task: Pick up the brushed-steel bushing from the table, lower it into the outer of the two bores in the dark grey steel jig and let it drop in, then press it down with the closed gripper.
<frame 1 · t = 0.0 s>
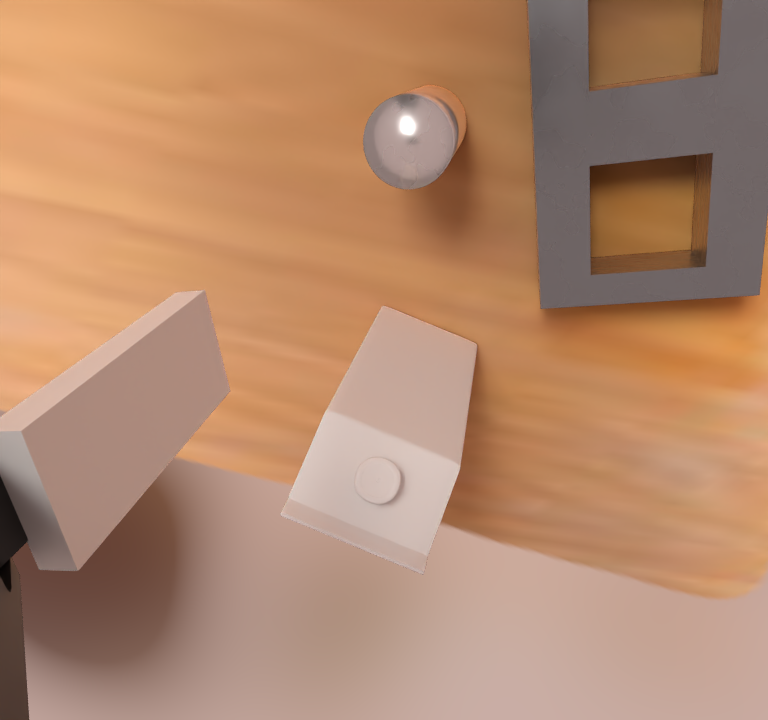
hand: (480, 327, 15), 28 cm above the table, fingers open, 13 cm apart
milk carton: (412, 364, 47), on the table
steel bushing: (430, 124, 40), on the table
jig: (640, 116, 37), on the table
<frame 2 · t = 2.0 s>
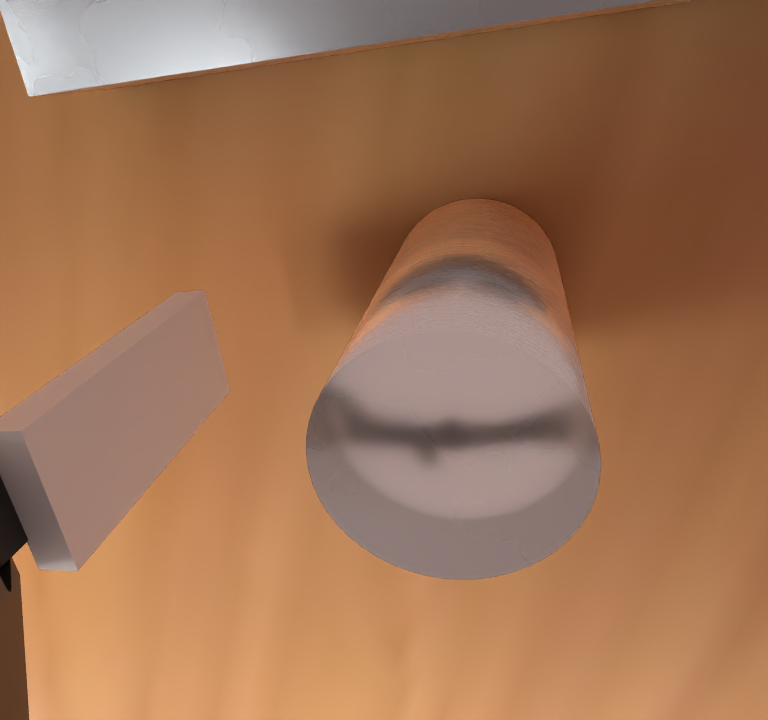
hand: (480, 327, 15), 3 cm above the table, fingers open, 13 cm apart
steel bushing: (475, 279, 18), on the table
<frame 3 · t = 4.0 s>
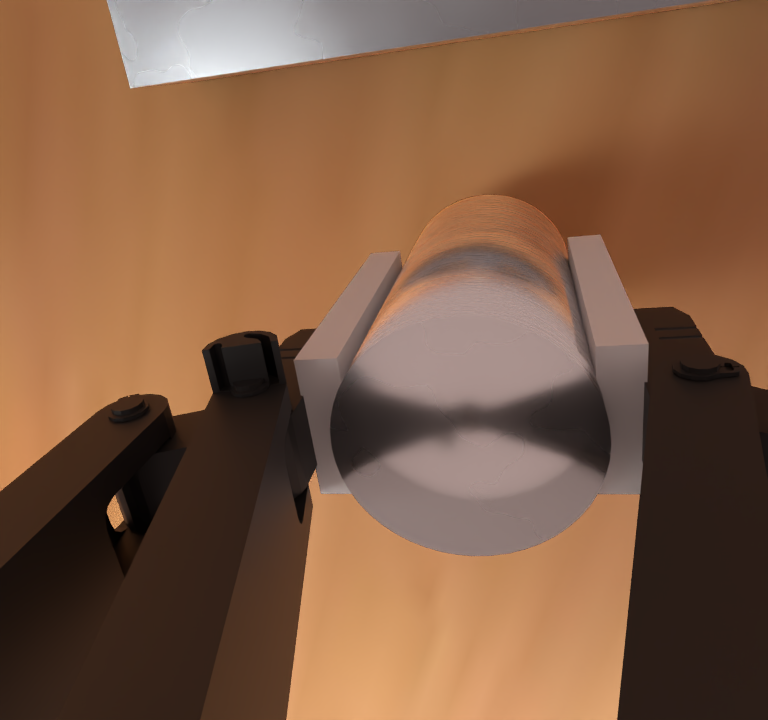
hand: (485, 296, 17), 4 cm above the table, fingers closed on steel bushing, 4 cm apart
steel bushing: (488, 273, 18), point 2 cm above the table, touching gripper
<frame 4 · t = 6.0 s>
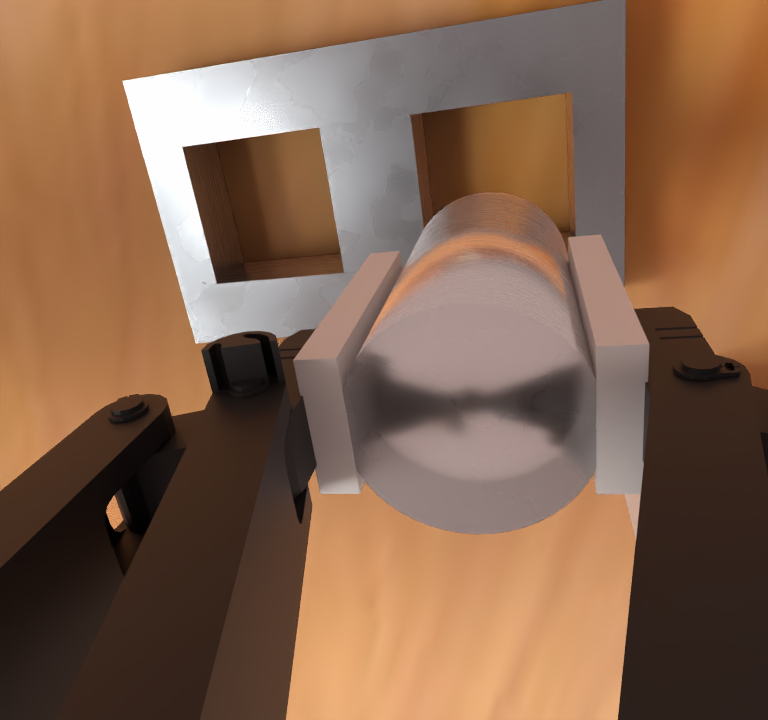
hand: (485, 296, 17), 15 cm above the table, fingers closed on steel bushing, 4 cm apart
milk carton: (715, 445, 34), on the table
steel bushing: (488, 269, 19), point 12 cm above the table, touching gripper
jig: (389, 183, 31), on the table
when the fingers open (5 cm above the table, at t = 8.2 s): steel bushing drops 3 cm, resting in jig.
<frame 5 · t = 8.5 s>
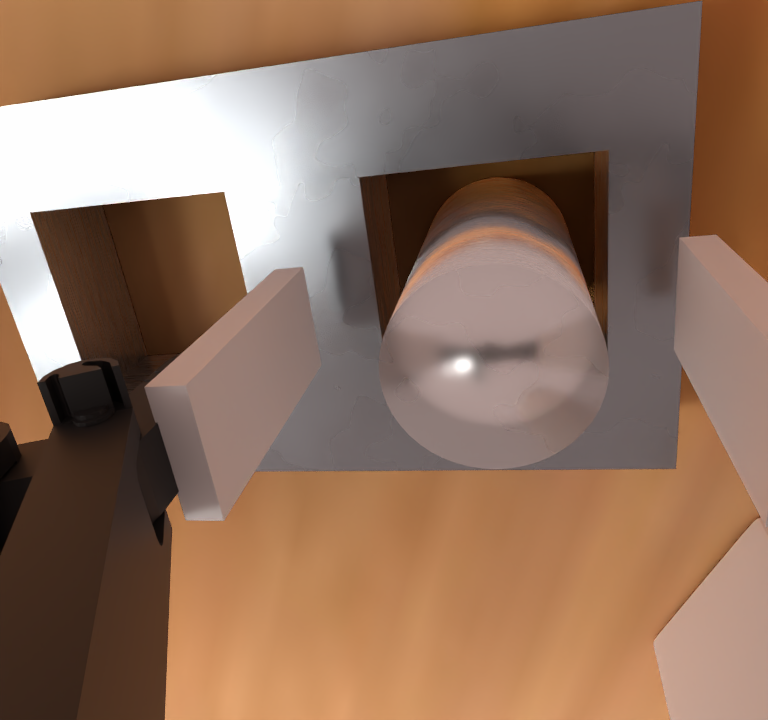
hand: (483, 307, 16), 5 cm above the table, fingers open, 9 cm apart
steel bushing: (496, 248, 21), resting in jig
jig: (339, 259, 22), on the table
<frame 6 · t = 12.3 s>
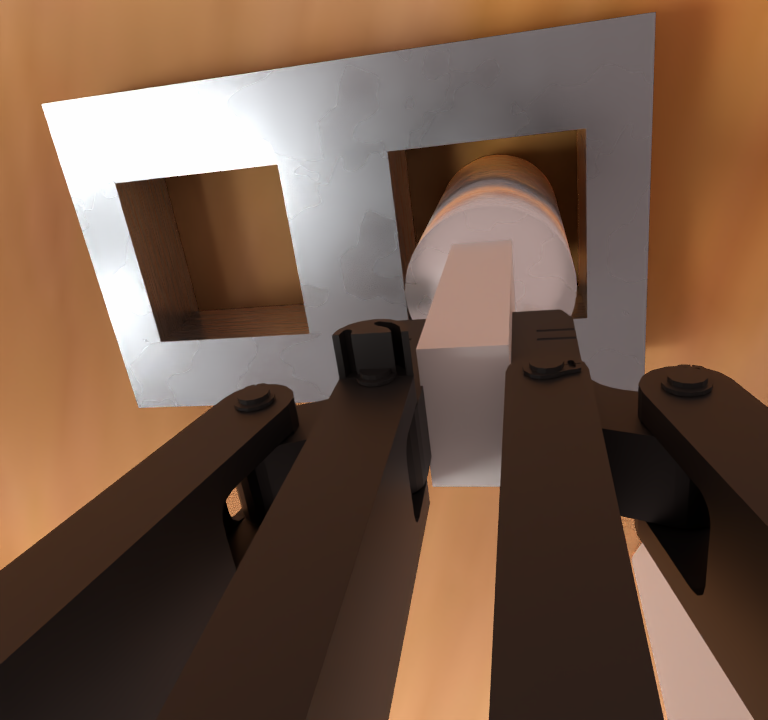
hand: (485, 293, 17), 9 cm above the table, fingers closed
milk carton: (743, 528, 29), on the table
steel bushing: (497, 214, 25), resting in jig, touching gripper
jig: (366, 225, 26), on the table
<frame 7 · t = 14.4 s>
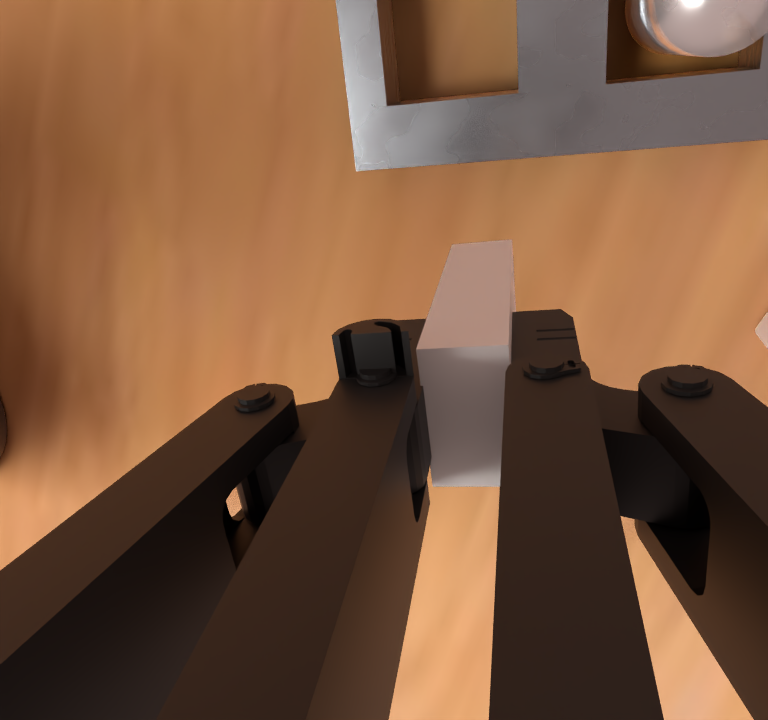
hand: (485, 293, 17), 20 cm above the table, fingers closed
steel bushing: (675, 1, 30), resting in jig
jig: (559, 15, 31), on the table
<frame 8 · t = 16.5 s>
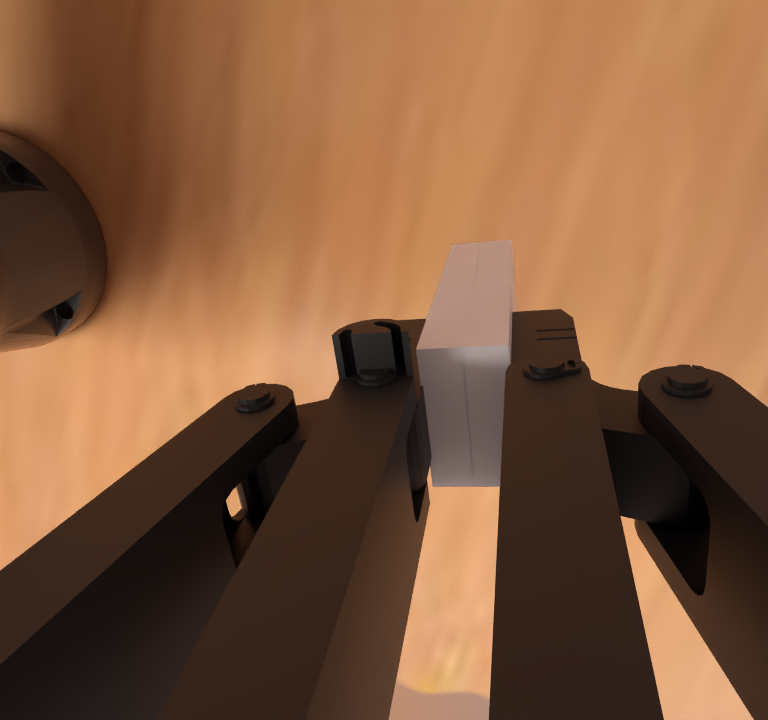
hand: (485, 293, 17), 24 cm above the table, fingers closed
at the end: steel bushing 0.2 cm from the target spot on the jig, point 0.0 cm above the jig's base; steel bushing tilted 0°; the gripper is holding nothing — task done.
